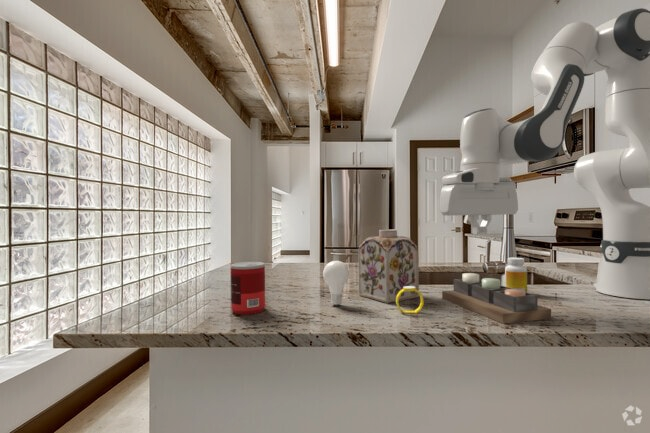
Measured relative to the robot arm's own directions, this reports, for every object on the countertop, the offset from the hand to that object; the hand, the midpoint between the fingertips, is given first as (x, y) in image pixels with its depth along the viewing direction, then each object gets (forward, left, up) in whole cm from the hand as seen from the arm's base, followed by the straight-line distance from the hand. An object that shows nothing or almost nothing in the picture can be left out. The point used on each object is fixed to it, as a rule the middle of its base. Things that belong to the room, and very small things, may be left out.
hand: (479, 233), depth 92 cm
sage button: (0, +4, -13) cm, 14 cm away
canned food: (+55, -11, -17) cm, 59 cm away
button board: (0, +4, -17) cm, 18 cm away
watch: (+20, +2, -17) cm, 27 cm away
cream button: (0, -4, -14) cm, 14 cm away
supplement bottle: (-16, -6, -17) cm, 24 cm away
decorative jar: (+18, -14, -17) cm, 29 cm away
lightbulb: (+34, -9, -17) cm, 39 cm away
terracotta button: (0, +11, -15) cm, 18 cm away
